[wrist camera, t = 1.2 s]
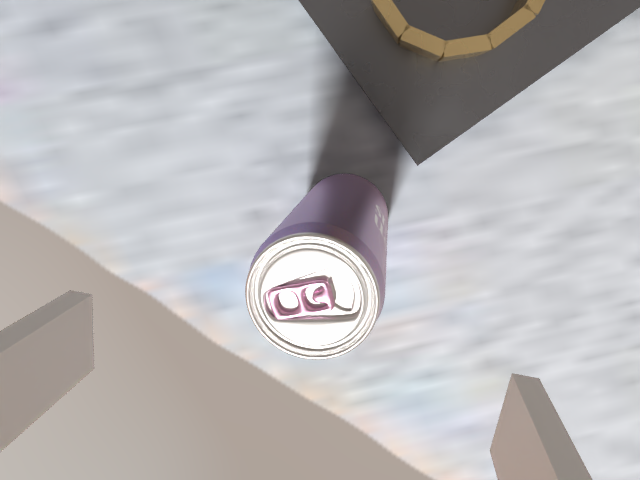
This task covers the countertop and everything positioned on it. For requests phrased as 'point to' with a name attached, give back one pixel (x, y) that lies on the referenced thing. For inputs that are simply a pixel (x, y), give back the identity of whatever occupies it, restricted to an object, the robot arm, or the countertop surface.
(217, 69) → the countertop surface
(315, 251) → the beverage can
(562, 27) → the pipe socket
